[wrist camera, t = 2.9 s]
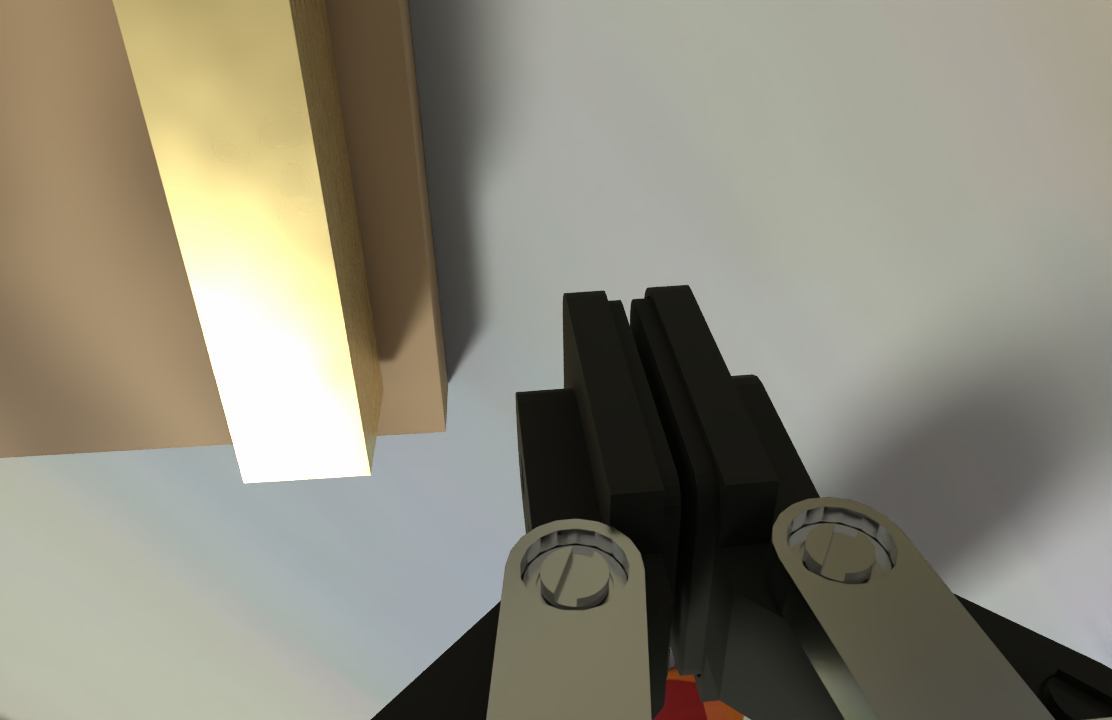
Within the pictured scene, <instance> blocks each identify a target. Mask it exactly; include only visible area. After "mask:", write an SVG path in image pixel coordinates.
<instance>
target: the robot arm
mask: <svg viewBox="0 0 1112 720" xmlns="http://www.w3.org/2000/svg"><path fill="white" fill-rule="evenodd" d="M563 349H564V389H554V390H540V391H527V392H516V416H517V435H518V452H519V466H520V478H521V490H522V500H523V510H524V519H525V529H526V535H524V536H522V537H521V538H520V540H519V541H518V542H517V543H516V544H515V546H514V547H513V548H512V549H511V551H510V554H509V557H508V559H507V562H506V565H505V572H504V580H503V588H502V596H501V601H500V602H499V603H498V604H497V605H496V606H495V607H494V608H492V609H491V610H490V611H489V612H488V613H487V614H486V615H485V616H484V617H483V618H481V619H480V620H479V621H478V622H477V623H476V624H475V625H474V626H473V627H472V628H471V629H469V630H468V631H467V632H466V633H465V634H464V635H463V636H462V637H461V638H460V639H458V640H457V641H456V642H455V643H454V644H453V645H452V646H451V647H450V648H449V649H448V650H446V651H445V652H444V653H443V654H442V655H441V656H440V657H439V658H438V659H437V660H436V661H434V662H433V663H432V664H431V665H430V666H429V667H428V668H427V669H426V670H425V671H423V672H422V673H421V674H420V675H419V676H418V677H417V678H416V679H415V680H414V681H413V682H411V683H410V684H409V685H408V686H407V687H406V688H405V689H404V690H403V691H402V692H401V693H399V694H398V695H397V696H396V697H395V698H394V699H393V700H392V701H391V702H390V703H388V704H387V705H386V706H385V707H384V708H383V709H382V710H381V711H380V712H379V713H378V714H376V715H375V716H374V717H373V718H372V719H371V720H653V719H654V718H655V717H656V716H657V714H658V713H659V712H660V711H661V709H662V708H663V707H664V705H665V692H666V679H667V676H668V670H669V657H670V645H671V648H672V652H673V656H674V660H675V664H676V667H677V671H678V673H679V675H680V676H686V675H694V678H695V682H696V686H697V689H698V693H699V697H700V700H701V702H709V701H719V700H720V701H721V702H723V703H725V704H726V705H728V706H730V707H731V708H733V709H734V710H736V711H738V712H739V713H741V714H742V715H743V720H1112V669H1110V668H1109V667H1107V666H1105V665H1103V664H1102V663H1099V662H1097V661H1095V660H1093V659H1091V658H1089V657H1087V656H1085V655H1083V654H1080V653H1078V652H1076V651H1074V650H1072V649H1070V648H1068V647H1066V646H1064V645H1061V644H1059V643H1057V642H1055V641H1053V640H1051V639H1049V638H1047V637H1044V636H1042V635H1040V634H1038V633H1036V632H1034V631H1032V630H1030V629H1028V628H1025V627H1023V626H1021V625H1019V624H1017V623H1015V622H1013V621H1011V620H1009V619H1006V618H1004V617H1002V616H1000V615H998V614H996V613H994V612H992V611H989V610H987V609H985V608H983V607H981V606H979V605H977V604H975V603H973V602H970V601H968V600H966V599H964V598H962V597H960V596H958V595H956V594H953V593H952V592H951V590H950V589H949V588H948V587H947V585H946V584H945V583H944V582H943V580H942V579H941V578H940V577H939V575H938V574H937V573H936V572H935V571H934V569H933V568H932V567H931V566H930V564H929V563H928V562H927V561H926V559H925V558H924V557H923V556H922V555H921V553H920V552H919V551H918V550H917V548H916V547H915V546H914V545H913V543H912V542H911V541H910V540H909V538H908V537H907V536H906V535H905V534H904V532H903V531H902V530H901V529H900V528H899V527H898V526H897V525H896V524H895V523H894V522H892V521H891V520H890V519H889V518H888V517H887V516H885V515H883V514H882V513H880V512H878V511H876V510H875V509H873V508H871V507H869V506H866V505H863V504H860V503H857V502H854V501H852V500H847V499H840V498H832V497H823V498H820V497H819V495H818V493H817V491H816V489H815V487H814V485H813V483H812V481H811V479H810V477H809V475H808V473H807V471H806V469H805V467H804V465H803V463H802V461H801V459H800V457H799V455H798V453H797V451H796V449H795V447H794V445H793V443H792V441H791V439H790V437H789V435H788V433H787V431H786V429H785V428H784V426H783V424H782V422H781V420H780V418H779V416H778V414H777V412H776V410H775V408H774V406H773V404H772V402H771V400H770V398H769V396H768V394H767V392H766V390H765V388H764V386H763V384H762V382H761V381H760V380H759V378H758V377H757V376H755V375H740V376H731V375H730V373H729V371H728V368H727V366H726V364H725V362H724V360H723V358H722V355H721V353H720V351H719V349H718V347H717V345H716V342H715V340H714V338H713V336H712V334H711V332H710V329H709V327H708V325H707V323H706V321H705V319H704V316H703V314H702V312H701V310H700V308H699V306H698V303H697V301H696V299H695V297H694V295H693V293H692V290H691V289H690V287H689V286H688V285H680V286H666V287H651V288H647V289H646V292H645V298H644V299H633V300H632V302H631V311H630V326H629V323H628V319H627V316H626V313H625V310H624V307H623V304H622V302H621V300H615V301H608V299H607V296H606V293H605V291H591V292H576V293H564V295H563Z"/></svg>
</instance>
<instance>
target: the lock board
mask: <svg viewBox="0 0 1112 720" xmlns="http://www.w3.org/2000/svg"><path fill="white" fill-rule="evenodd" d="M325 4H326V11H327V17H328V24H329V31H330V37H331V44H332V51H333V57H334V64H335V70H336V77H337V84H338V90H339V97H340V103H341V110H342V117H343V123H344V130H345V137H346V143H347V150H348V156H349V163H350V170H351V176H352V183H353V190H354V196H355V203H356V209H357V216H358V223H359V229H360V236H361V243H362V249H363V256H364V262H365V269H366V276H367V282H368V289H369V296H370V302H371V309H372V315H373V322H374V329H375V335H376V342H377V349H378V355H379V362H380V368H381V375H382V382H383V388H384V391H383V397H382V404H381V410H380V417H379V423H378V430H377V436H382V435H399V434H416V433H433V432H446V415H447V395H448V380H447V370H446V361H445V351H444V341H443V332H442V322H441V312H440V302H439V293H438V283H437V273H436V264H435V254H434V244H433V235H432V225H431V215H430V205H429V196H428V186H427V176H426V167H425V157H424V147H423V137H422V128H421V118H420V108H419V99H418V89H417V79H416V70H415V60H414V50H413V40H412V31H411V21H410V11H409V2H408V0H325ZM228 444H234V443H233V440H232V436H231V432H230V429H229V425H228V421H227V418H226V414H225V410H224V407H223V403H222V399H221V396H220V392H219V388H218V385H217V381H216V377H215V374H214V370H213V366H212V363H211V359H210V355H209V352H208V348H207V344H206V341H205V337H204V333H203V330H202V326H201V323H200V319H199V315H198V312H197V308H196V304H195V301H194V297H193V293H192V290H191V286H190V282H189V279H188V275H187V271H186V268H185V264H184V260H183V257H182V253H181V249H180V246H179V242H178V238H177V235H176V231H175V227H174V224H173V220H172V216H171V213H170V209H169V205H168V202H167V198H166V194H165V191H164V187H163V183H162V180H161V176H160V172H159V169H158V165H157V161H156V158H155V154H154V150H153V147H152V143H151V139H150V136H149V132H148V128H147V125H146V121H145V117H144V114H143V110H142V106H141V103H140V99H139V95H138V92H137V88H136V84H135V81H134V77H133V73H132V70H131V66H130V63H129V59H128V55H127V52H126V48H125V44H124V41H123V37H122V33H121V30H120V26H119V22H118V19H117V15H116V11H115V8H114V4H113V0H0V458H5V457H22V456H39V455H57V454H74V453H91V452H108V451H125V450H142V449H159V448H176V447H193V446H211V445H228Z"/></svg>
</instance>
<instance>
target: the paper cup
mask: <svg viewBox="0 0 1112 720" xmlns="http://www.w3.org/2000/svg"><path fill="white" fill-rule="evenodd" d="M653 720H743V715H742V714H741V713H739V712H738V711H736V710H734V709H733V708H731V707H730V706H728V705H726V704H725V703H723V702H721V701H720V700H719V701H709V702H701V700H700V697H699V693H698V689H697V686H696V682H695V678H694V675H686V676H680V675H679V673H678V671H677V668H673V669H670V670H668V676H667V679H666V692H665V705H664V707H663V708H662V709H661V711H660V712H659V713H658V714H657V716H656V717H655V718H654V719H653Z"/></svg>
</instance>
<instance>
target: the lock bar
mask: <svg viewBox="0 0 1112 720" xmlns="http://www.w3.org/2000/svg"><path fill="white" fill-rule="evenodd" d="M113 4H114V8H115V11H116V15H117V19H118V22H119V26H120V30H121V33H122V37H123V41H124V44H125V48H126V52H127V55H128V59H129V63H130V66H131V70H132V73H133V77H134V81H135V84H136V88H137V92H138V95H139V99H140V103H141V106H142V110H143V114H144V117H145V121H146V125H147V128H148V132H149V136H150V139H151V143H152V147H153V150H154V154H155V158H156V161H157V165H158V169H159V172H160V176H161V180H162V183H163V187H164V191H165V194H166V198H167V202H168V205H169V209H170V213H171V216H172V220H173V224H174V227H175V231H176V235H177V238H178V242H179V246H180V249H181V253H182V257H183V260H184V264H185V268H186V271H187V275H188V279H189V282H190V286H191V290H192V293H193V297H194V301H195V304H196V308H197V312H198V315H199V319H200V323H201V326H202V330H203V333H204V337H205V341H206V344H207V348H208V352H209V355H210V359H211V363H212V366H213V370H214V374H215V377H216V381H217V385H218V388H219V392H220V396H221V399H222V403H223V407H224V410H225V414H226V418H227V421H228V425H229V429H230V432H231V436H232V440H233V443H234V447H235V451H236V454H237V458H238V462H239V465H240V469H241V473H242V476H243V480H244V483H249V482H265V481H282V480H298V479H315V478H331V477H348V476H364V475H371V469H372V462H373V456H374V449H375V443H376V436H377V430H378V423H379V417H380V410H381V404H382V397H383V391H384V388H383V382H382V375H381V368H380V362H379V355H378V349H377V342H376V335H375V329H374V322H373V315H372V309H371V302H370V296H369V289H368V282H367V276H366V269H365V262H364V256H363V249H362V243H361V236H360V229H359V223H358V216H357V209H356V203H355V196H354V190H353V183H352V176H351V170H350V163H349V156H348V150H347V143H346V137H345V130H344V123H343V117H342V110H341V103H340V97H339V90H338V84H337V77H336V70H335V64H334V57H333V51H332V44H331V37H330V31H329V24H328V17H327V11H326V4H325V0H113Z"/></svg>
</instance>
